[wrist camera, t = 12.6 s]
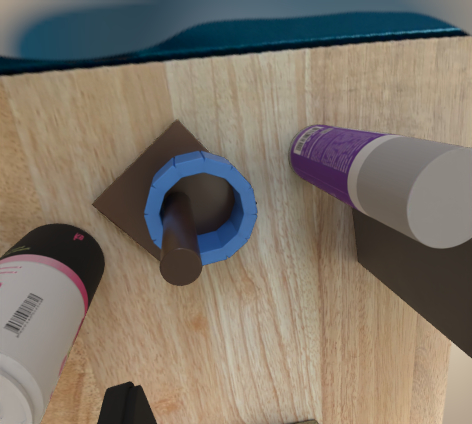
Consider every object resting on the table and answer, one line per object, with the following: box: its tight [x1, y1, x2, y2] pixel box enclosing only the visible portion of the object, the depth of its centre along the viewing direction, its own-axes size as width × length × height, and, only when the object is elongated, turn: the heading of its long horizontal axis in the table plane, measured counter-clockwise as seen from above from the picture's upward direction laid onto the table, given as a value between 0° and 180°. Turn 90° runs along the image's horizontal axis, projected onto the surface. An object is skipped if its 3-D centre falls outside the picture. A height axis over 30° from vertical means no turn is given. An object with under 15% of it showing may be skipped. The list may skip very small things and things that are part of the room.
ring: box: [144, 151, 257, 266], centre depth 25 cm, size 8×8×4 cm
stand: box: [92, 119, 257, 286], centre depth 22 cm, size 9×9×12 cm
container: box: [289, 125, 472, 248], centre depth 21 cm, size 5×5×15 cm
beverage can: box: [0, 224, 105, 424], centre depth 20 cm, size 6×7×15 cm
